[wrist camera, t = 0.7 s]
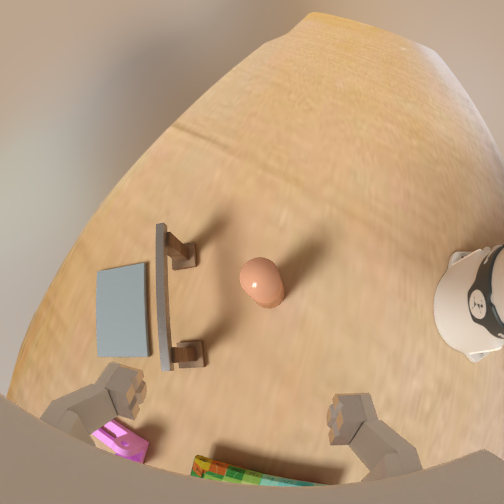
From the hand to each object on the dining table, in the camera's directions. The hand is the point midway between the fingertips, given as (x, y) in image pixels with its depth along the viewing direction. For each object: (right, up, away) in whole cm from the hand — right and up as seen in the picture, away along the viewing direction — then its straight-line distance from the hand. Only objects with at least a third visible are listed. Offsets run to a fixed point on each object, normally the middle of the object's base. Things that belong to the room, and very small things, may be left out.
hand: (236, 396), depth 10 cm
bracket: (-23, -27, +27) cm, 45 cm away
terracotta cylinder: (+3, 0, +31) cm, 31 cm away
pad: (-22, -5, +34) cm, 41 cm away
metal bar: (-11, 0, +25) cm, 28 cm away
